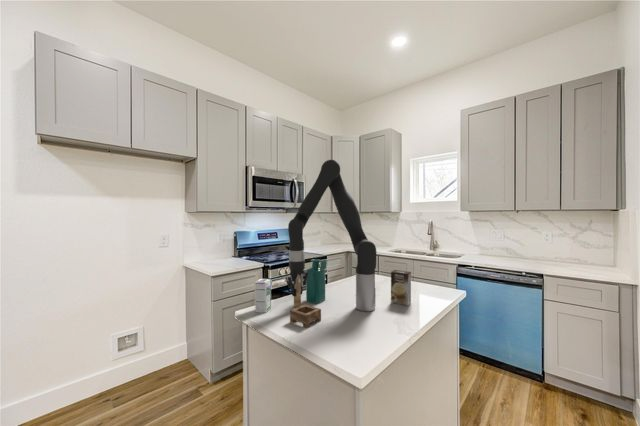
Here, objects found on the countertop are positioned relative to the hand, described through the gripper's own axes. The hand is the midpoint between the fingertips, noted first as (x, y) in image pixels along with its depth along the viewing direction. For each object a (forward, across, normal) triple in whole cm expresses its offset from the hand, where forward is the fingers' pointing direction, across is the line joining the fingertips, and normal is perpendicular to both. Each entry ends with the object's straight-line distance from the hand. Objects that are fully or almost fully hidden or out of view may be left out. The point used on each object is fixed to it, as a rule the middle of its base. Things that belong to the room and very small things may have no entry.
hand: (297, 295), depth 128 cm
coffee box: (+8, +41, -35) cm, 54 cm away
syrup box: (+7, -11, +12) cm, 18 cm away
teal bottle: (+7, +16, +1) cm, 17 cm away
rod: (+6, 0, 0) cm, 6 cm away
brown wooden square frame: (+7, -8, -13) cm, 17 cm away
